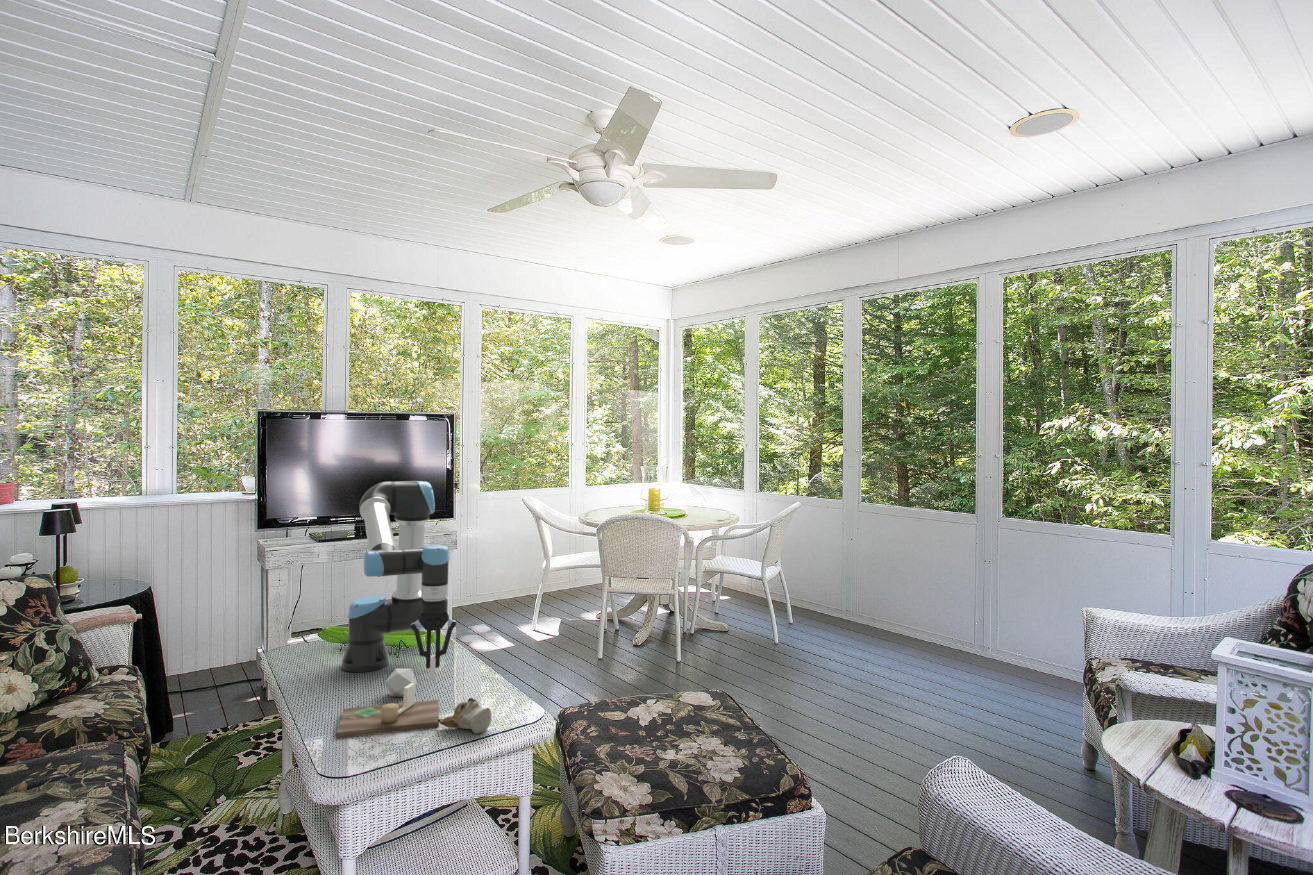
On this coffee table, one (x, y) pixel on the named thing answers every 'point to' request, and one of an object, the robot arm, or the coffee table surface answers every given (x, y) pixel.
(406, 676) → the die
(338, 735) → the dial plate
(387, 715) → the knob lever
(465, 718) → the ceramic sculpture
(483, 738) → the coffee table surface
